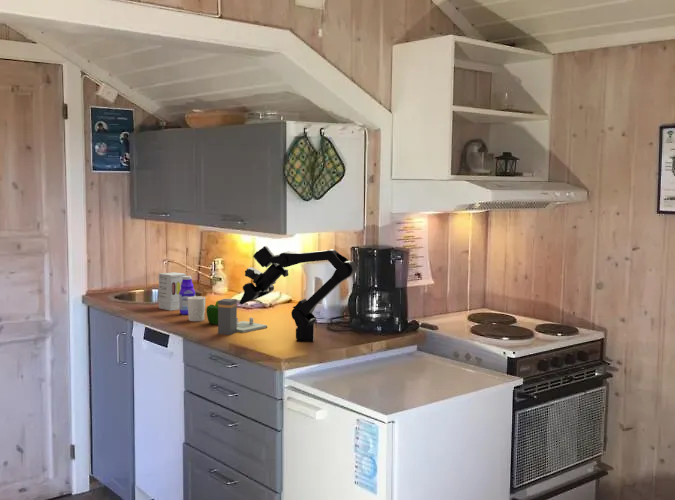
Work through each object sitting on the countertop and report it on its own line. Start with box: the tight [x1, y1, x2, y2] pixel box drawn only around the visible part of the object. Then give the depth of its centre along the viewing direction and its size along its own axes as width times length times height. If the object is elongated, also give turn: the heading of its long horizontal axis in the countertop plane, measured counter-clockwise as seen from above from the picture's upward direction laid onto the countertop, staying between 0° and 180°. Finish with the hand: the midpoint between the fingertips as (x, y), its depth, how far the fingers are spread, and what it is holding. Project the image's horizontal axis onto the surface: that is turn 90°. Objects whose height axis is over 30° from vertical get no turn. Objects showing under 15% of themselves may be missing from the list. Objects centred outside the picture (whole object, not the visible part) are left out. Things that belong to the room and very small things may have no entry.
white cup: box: [187, 295, 206, 322], centre depth 326 cm, size 8×8×10 cm
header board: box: [236, 317, 268, 334], centre depth 311 cm, size 14×14×4 cm
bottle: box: [178, 275, 196, 315], centre depth 339 cm, size 7×6×17 cm
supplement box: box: [158, 271, 187, 312], centre depth 353 cm, size 10×9×17 cm
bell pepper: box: [206, 300, 219, 325], centre depth 319 cm, size 8×8×10 cm
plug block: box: [217, 298, 238, 336], centre depth 300 cm, size 6×6×14 cm
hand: (245, 301), depth 297 cm, fingers open, 9 cm apart
